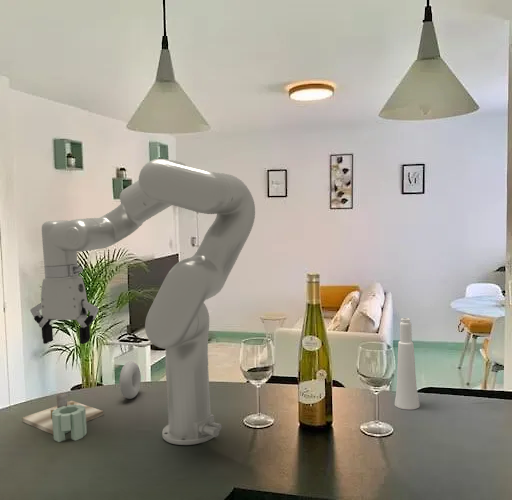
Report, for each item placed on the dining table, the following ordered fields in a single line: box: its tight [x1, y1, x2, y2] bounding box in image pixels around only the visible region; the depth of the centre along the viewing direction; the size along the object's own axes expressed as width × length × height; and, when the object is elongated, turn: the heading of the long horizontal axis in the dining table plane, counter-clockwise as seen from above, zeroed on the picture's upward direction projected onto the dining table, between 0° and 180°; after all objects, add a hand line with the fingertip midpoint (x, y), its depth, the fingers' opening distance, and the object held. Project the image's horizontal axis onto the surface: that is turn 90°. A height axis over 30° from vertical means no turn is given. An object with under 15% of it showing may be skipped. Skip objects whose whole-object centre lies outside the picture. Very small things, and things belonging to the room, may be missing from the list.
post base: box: [21, 392, 104, 435], centre depth 134 cm, size 14×14×6 cm
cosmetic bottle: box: [394, 317, 420, 411], centre depth 132 cm, size 6×6×22 cm
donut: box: [119, 361, 142, 400], centre depth 146 cm, size 10×4×10 cm, turn 172°
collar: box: [52, 405, 88, 443], centre depth 123 cm, size 7×7×6 cm
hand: (66, 342), depth 129 cm, fingers open, 9 cm apart
